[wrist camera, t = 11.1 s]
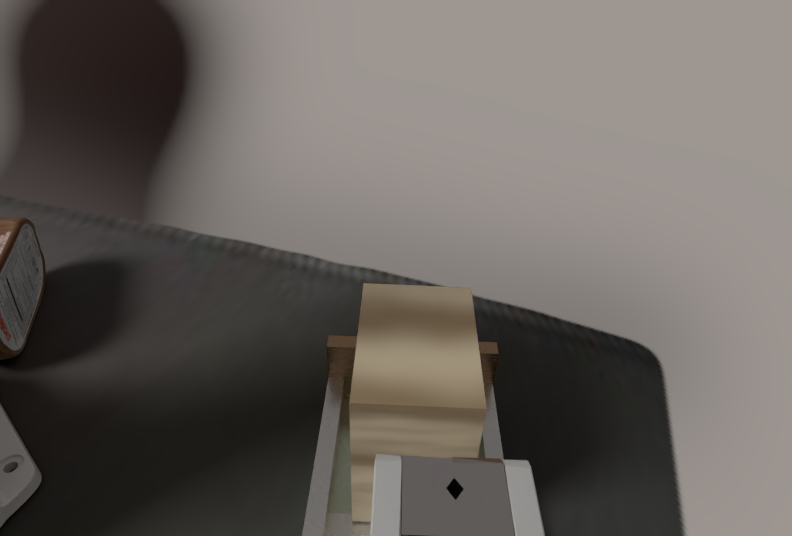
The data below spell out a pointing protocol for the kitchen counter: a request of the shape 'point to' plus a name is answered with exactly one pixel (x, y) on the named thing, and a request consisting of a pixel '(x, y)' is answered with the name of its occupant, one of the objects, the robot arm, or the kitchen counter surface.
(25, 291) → the tin
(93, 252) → the kitchen counter surface
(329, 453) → the bay
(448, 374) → the block
